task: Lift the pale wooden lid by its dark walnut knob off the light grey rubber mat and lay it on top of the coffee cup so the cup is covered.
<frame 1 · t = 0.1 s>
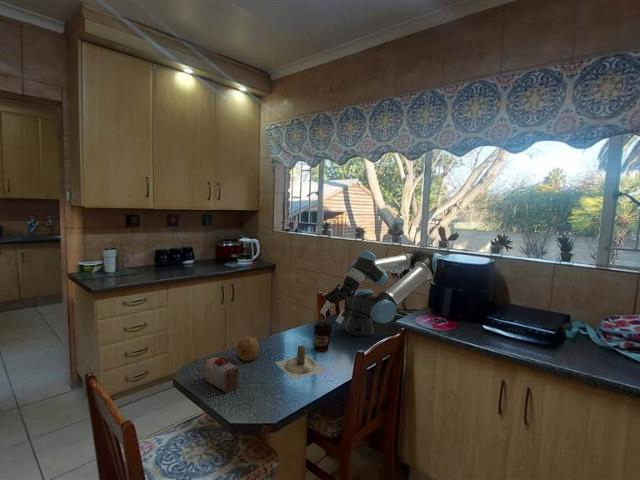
hand: (329, 317, 161), 15 cm above the table, tool tilted 35°, fingers open, 13 cm apart
coffee cup: (321, 351, 161), on the table
lid: (300, 366, 143), point 1 cm above the table, touching mat
food item: (221, 384, 128), on the table
onion: (247, 360, 148), on the table
mat: (300, 367, 143), on the table
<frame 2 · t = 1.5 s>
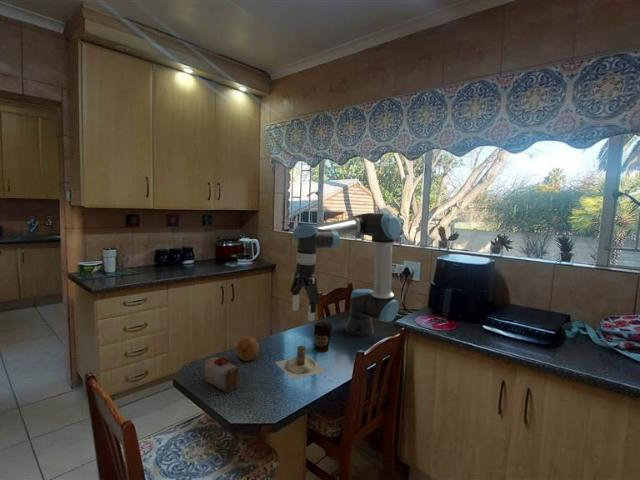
hand: (303, 315, 141), 22 cm above the table, tool pointing down, fingers open, 13 cm apart
nothing on the table moved.
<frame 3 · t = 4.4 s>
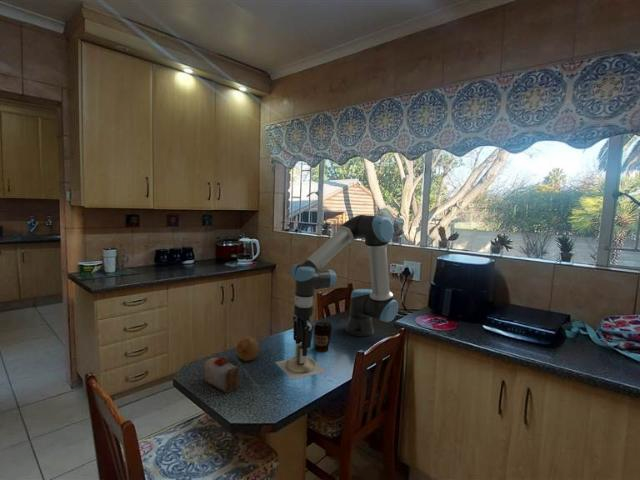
hand: (300, 360, 143), 3 cm above the table, tool pointing down, fingers closed on lid, 3 cm apart
lid: (300, 366, 143), point 1 cm above the table, touching gripper
everything else where it was.
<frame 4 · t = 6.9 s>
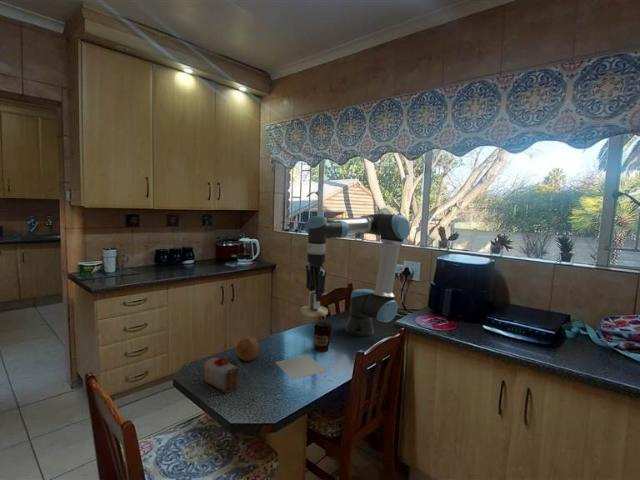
hand: (314, 306, 149), 24 cm above the table, tool pointing down, fingers closed on lid, 3 cm apart
lid: (313, 312, 149), point 21 cm above the table, touching gripper
everything else where it was.
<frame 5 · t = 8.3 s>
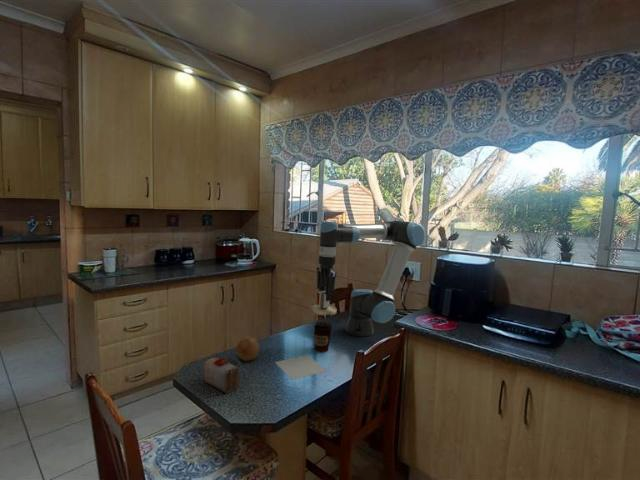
hand: (324, 306, 159), 21 cm above the table, tool pointing down, fingers closed on lid, 3 cm apart
lid: (323, 311, 159), point 19 cm above the table, touching gripper
everything else where it was.
when the fingers open (17 cm above the table, at t = 9.6 s): lid drops 3 cm, resting on coffee cup.
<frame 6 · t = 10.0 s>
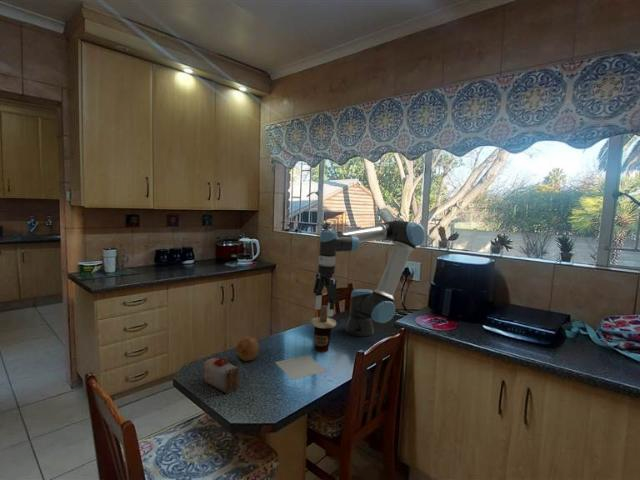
hand: (323, 312, 160), 18 cm above the table, tool pointing down, fingers open, 10 cm apart
coffee cup: (321, 351, 161), on the table, touching lid
lid: (323, 323, 160), point 13 cm above the table, touching coffee cup
everything else where it was.
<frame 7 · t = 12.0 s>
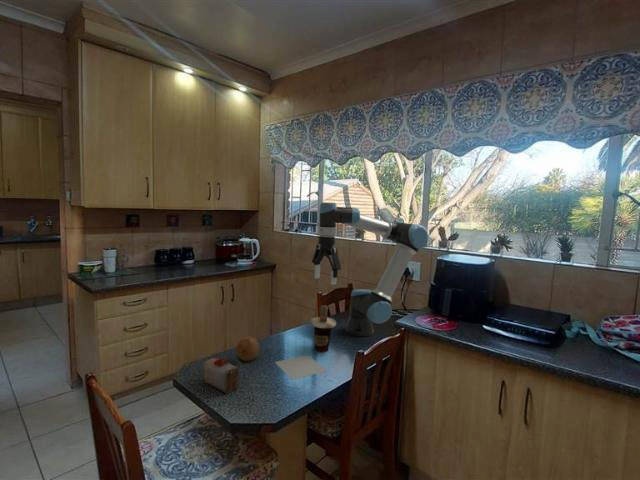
hand: (325, 281, 163), 32 cm above the table, tool pointing down, fingers open, 13 cm apart
nothing on the table moved.
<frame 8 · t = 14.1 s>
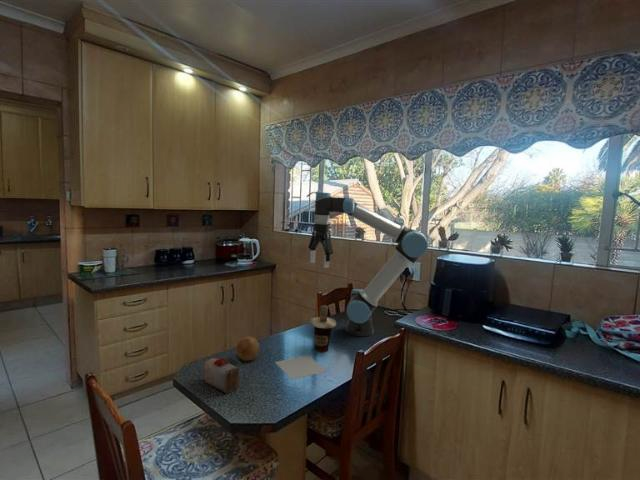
hand: (319, 265, 177), 37 cm above the table, tool pointing down, fingers open, 13 cm apart
nothing on the table moved.
at the end: lid 0.0 cm from the coffee cup (horizontally); lid point 12.9 cm above the table; coffee cup tilted 0° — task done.
